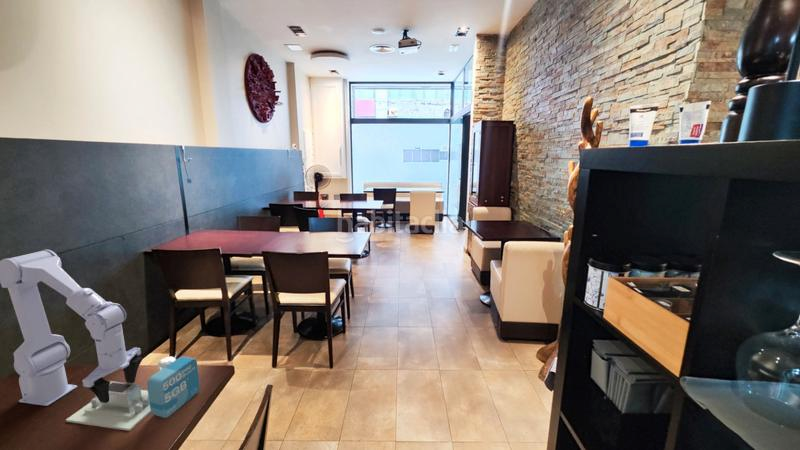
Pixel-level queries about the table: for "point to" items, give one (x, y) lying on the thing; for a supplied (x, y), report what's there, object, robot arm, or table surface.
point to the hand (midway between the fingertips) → (118, 391)
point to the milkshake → (166, 362)
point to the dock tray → (112, 415)
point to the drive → (121, 397)
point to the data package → (173, 386)
